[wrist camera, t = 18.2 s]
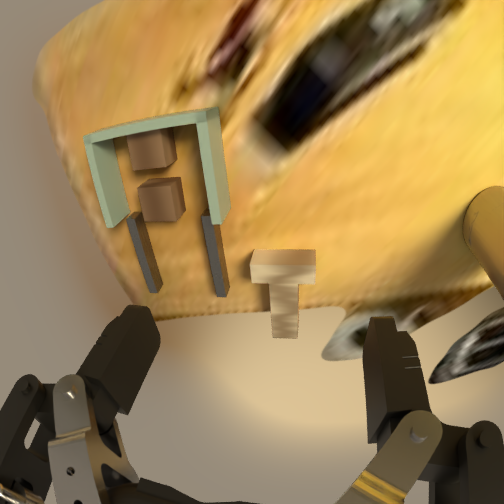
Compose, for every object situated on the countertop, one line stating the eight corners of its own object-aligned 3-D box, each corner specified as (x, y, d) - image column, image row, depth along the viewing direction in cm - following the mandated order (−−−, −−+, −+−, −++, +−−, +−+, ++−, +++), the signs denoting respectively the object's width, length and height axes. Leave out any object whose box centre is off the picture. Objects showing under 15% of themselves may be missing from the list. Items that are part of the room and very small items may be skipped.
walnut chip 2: (181, 176, 32) (170, 186, 29) (186, 209, 34) (176, 221, 31) (149, 178, 32) (137, 188, 30) (155, 209, 34) (144, 221, 32)
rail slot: (216, 208, 33) (211, 215, 31) (229, 287, 39) (226, 297, 37) (134, 212, 35) (126, 219, 33) (155, 283, 41) (149, 292, 39)
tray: (218, 106, 27) (205, 110, 23) (230, 207, 33) (221, 224, 29) (103, 128, 29) (82, 136, 26) (123, 212, 35) (107, 227, 32)
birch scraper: (315, 265, 31) (312, 339, 37) (315, 249, 34) (312, 321, 40) (249, 264, 32) (258, 337, 38) (254, 248, 35) (261, 320, 41)
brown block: (172, 123, 28) (160, 128, 26) (177, 158, 31) (166, 167, 28) (140, 128, 29) (126, 134, 27) (146, 162, 31) (133, 170, 29)
